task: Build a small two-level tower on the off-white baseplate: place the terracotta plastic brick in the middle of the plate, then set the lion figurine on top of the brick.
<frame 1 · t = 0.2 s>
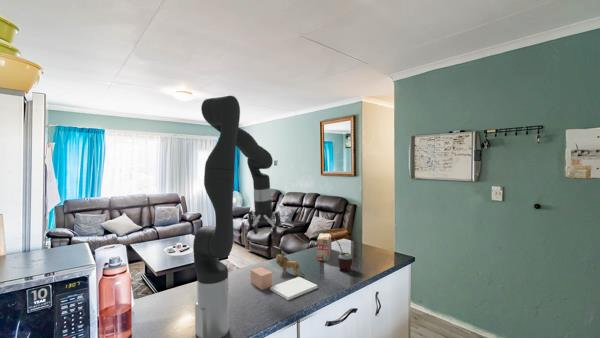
hand: (265, 234, 118), 22 cm above the countertop, tool pointing down, fingers open, 8 cm apart
baseplate: (294, 288, 114), on the countertop
terracotta brick: (261, 284, 118), on the countertop
mate gourd: (344, 270, 134), on the countertop
lion figurine: (288, 274, 129), on the countertop
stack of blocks: (324, 255, 158), on the countertop
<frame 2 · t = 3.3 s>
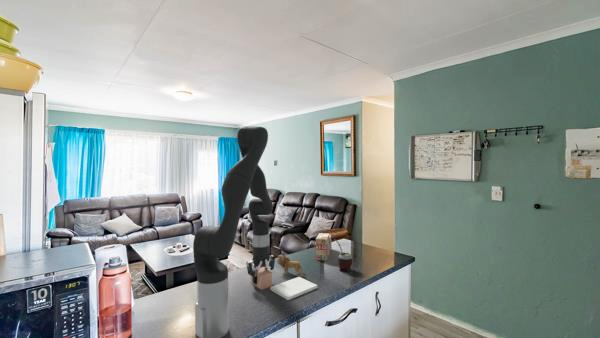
hand: (261, 281, 118), 1 cm above the countertop, tool pointing down, fingers closed on terracotta brick, 5 cm apart
terracotta brick: (261, 284, 118), on the countertop, touching gripper
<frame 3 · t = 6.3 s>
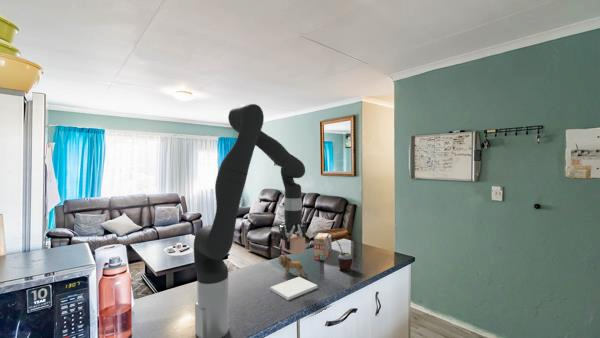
hand: (293, 247, 114), 17 cm above the countertop, tool pointing down, fingers closed on terracotta brick, 5 cm apart
terracotta brick: (293, 250, 114), point 16 cm above the countertop, touching gripper
when the fingers open (4 cm above the countertop, at t = 9.4 s): terracotta brick drops 1 cm, resting on baseplate.
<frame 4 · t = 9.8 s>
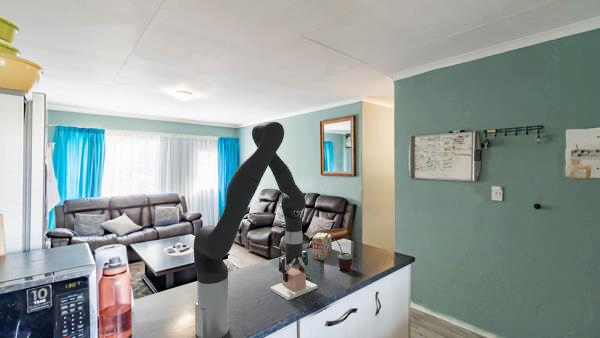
hand: (293, 278, 114), 4 cm above the countertop, tool pointing down, fingers open, 8 cm apart
terracotta brick: (293, 286, 114), point 1 cm above the countertop, touching baseplate
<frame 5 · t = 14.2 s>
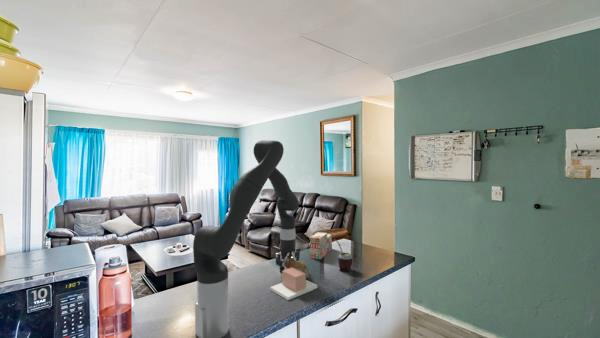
hand: (287, 271, 129), 1 cm above the countertop, tool pointing down, fingers closed on lion figurine, 6 cm apart
lion figurine: (295, 276, 128), on the countertop, touching gripper
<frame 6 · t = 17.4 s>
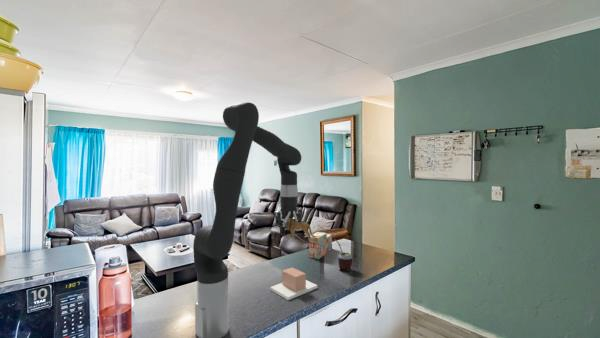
hand: (288, 233, 116), 23 cm above the countertop, tool pointing down, fingers closed on lion figurine, 6 cm apart
lion figurine: (297, 237, 114), point 22 cm above the countertop, touching gripper
when the fingers open (10 cm above the countertop, at t = 20.7 s): lion figurine drops 1 cm, resting on terracotta brick.
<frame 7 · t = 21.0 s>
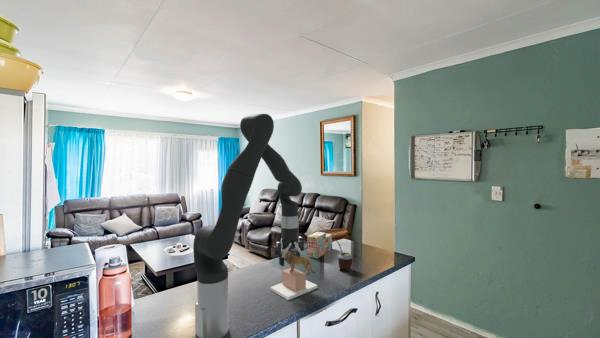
hand: (290, 263, 115), 10 cm above the countertop, tool pointing down, fingers open, 8 cm apart
terracotta brick: (293, 286, 114), point 1 cm above the countertop, touching baseplate, lion figurine
lion figurine: (297, 272, 113), point 7 cm above the countertop, touching gripper, terracotta brick
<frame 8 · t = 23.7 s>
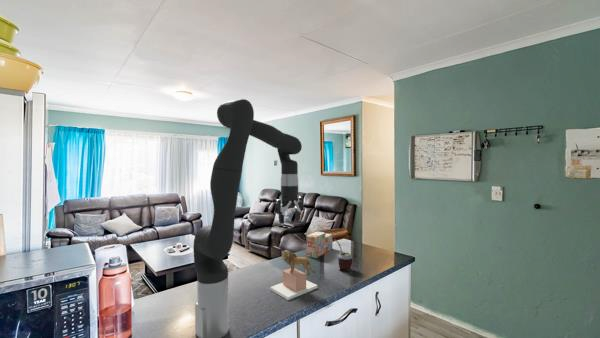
hand: (289, 222, 115), 28 cm above the countertop, tool pointing down, fingers open, 8 cm apart
lion figurine: (297, 272, 113), point 7 cm above the countertop, touching terracotta brick
at the end: terracotta brick inside the target area on the baseplate (0.2 cm from its centre), point 1.2 cm above the baseplate's base; lion figurine inside the target area on the terracotta brick (1.3 cm from its centre), point 5.8 cm above the terracotta brick's base; lion figurine tilted 0° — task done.
